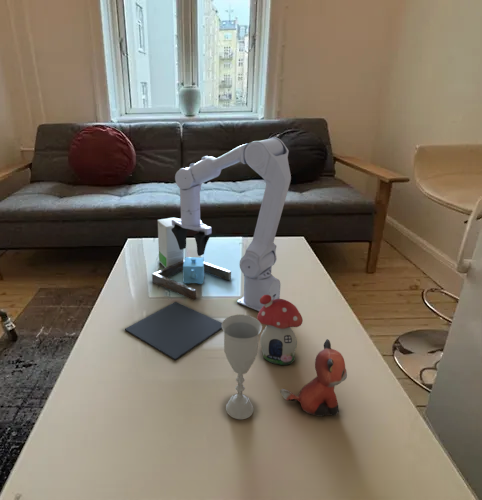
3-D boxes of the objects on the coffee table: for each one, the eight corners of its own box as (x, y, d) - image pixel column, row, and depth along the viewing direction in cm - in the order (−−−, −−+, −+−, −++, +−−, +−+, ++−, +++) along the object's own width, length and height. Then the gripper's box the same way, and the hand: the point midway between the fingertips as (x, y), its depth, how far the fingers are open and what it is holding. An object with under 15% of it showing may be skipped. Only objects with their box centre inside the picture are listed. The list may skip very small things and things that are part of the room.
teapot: (202, 290, 115) (202, 267, 112) (182, 290, 115) (181, 267, 113) (204, 273, 126) (204, 252, 123) (185, 273, 126) (185, 252, 124)
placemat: (225, 326, 97) (225, 324, 97) (175, 360, 85) (175, 358, 85) (175, 302, 109) (175, 301, 109) (124, 330, 97) (124, 328, 97)
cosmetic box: (158, 261, 136) (156, 219, 130) (176, 258, 138) (174, 216, 133) (167, 270, 129) (165, 226, 123) (185, 266, 131) (184, 223, 126)
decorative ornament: (252, 357, 85) (254, 297, 80) (262, 341, 91) (265, 284, 85) (293, 370, 81) (299, 308, 75) (301, 353, 86) (307, 294, 81)
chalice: (257, 426, 68) (261, 340, 61) (218, 421, 69) (218, 336, 62) (258, 396, 74) (262, 316, 68) (223, 392, 76) (224, 313, 69)
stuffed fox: (277, 387, 77) (281, 336, 72) (335, 389, 75) (343, 338, 71) (282, 416, 70) (287, 362, 65) (346, 419, 69) (355, 364, 64)
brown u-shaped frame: (231, 279, 121) (231, 270, 120) (193, 300, 110) (193, 291, 109) (190, 264, 133) (190, 256, 132) (152, 282, 121) (151, 273, 120)
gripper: (218, 209, 111) (218, 253, 116) (182, 202, 120) (183, 242, 125) (202, 215, 106) (202, 260, 111) (165, 206, 115) (168, 249, 120)
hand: (191, 251), depth 118 cm, fingers open, 7 cm apart
